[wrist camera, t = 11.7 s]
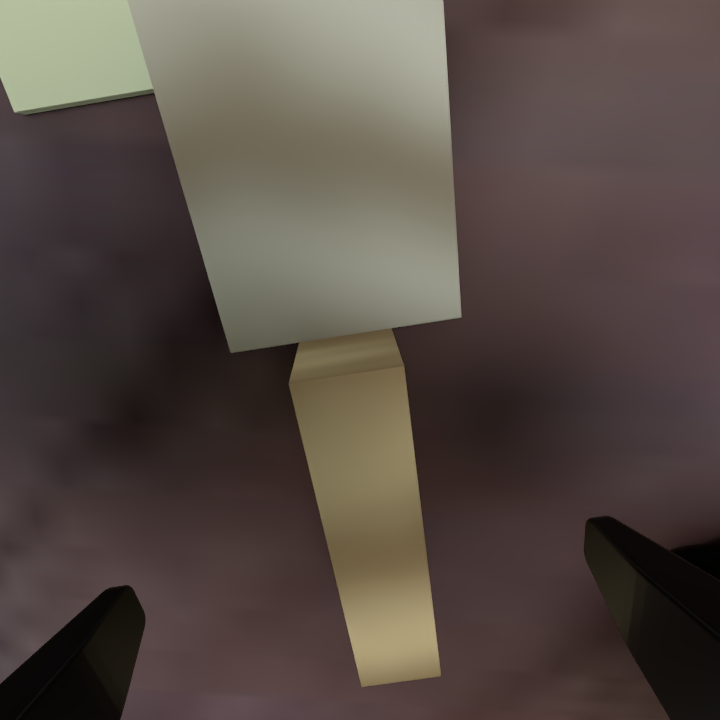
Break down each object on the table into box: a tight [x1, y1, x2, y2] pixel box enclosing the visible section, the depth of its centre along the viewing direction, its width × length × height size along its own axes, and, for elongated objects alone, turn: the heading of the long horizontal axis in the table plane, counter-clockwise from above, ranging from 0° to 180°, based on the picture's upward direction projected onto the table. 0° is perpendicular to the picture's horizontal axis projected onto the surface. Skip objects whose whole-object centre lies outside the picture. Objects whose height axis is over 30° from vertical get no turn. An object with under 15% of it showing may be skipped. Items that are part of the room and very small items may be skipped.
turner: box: [127, 0, 461, 687], centre depth 12 cm, size 21×7×4 cm, turn 9°
